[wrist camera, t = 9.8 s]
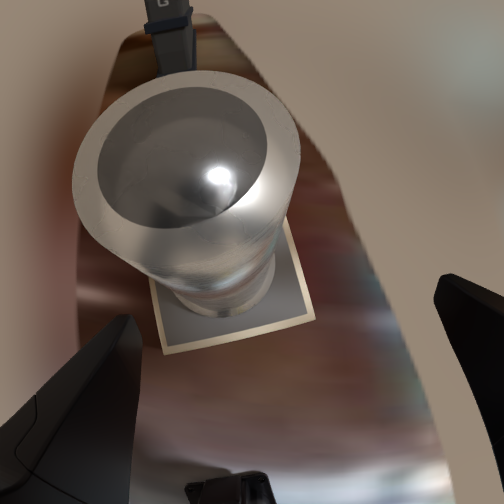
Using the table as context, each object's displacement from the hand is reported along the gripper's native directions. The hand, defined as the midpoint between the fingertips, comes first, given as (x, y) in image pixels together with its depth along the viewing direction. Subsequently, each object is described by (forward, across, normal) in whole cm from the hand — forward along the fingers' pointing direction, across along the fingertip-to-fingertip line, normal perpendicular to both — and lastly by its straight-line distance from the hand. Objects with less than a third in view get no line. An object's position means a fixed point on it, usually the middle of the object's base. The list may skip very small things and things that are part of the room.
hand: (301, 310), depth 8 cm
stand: (+13, +3, +7) cm, 14 cm away
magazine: (+30, +6, -11) cm, 33 cm away
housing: (+10, +3, +5) cm, 12 cm away
